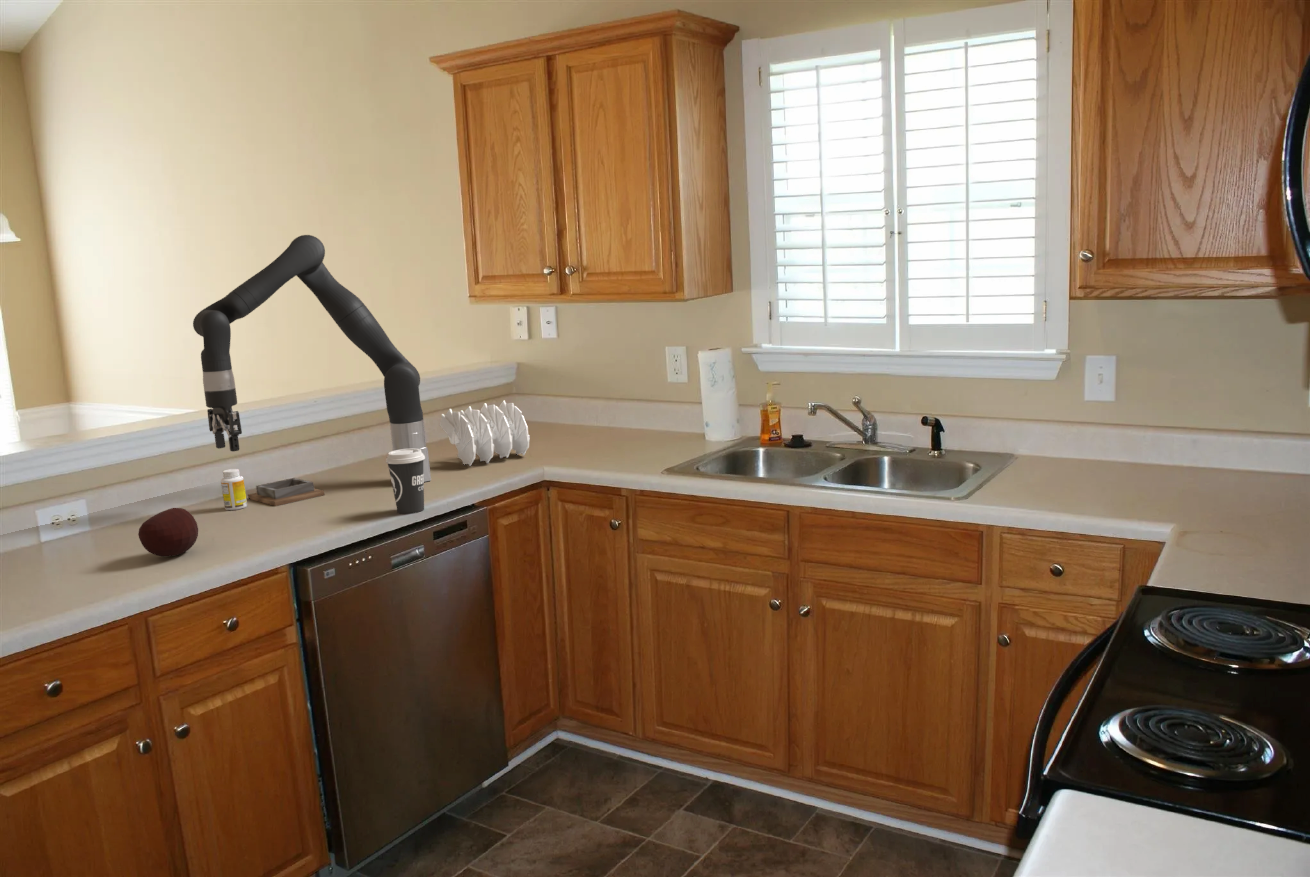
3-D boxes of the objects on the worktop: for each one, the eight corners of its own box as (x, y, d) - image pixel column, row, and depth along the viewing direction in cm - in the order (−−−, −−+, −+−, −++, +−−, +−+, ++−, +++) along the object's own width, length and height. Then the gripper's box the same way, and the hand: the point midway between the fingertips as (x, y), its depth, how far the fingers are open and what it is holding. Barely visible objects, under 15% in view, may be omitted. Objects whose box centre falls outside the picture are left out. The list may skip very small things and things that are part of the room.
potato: (130, 563, 226) (123, 517, 224) (177, 546, 238) (170, 502, 236) (169, 566, 222) (162, 519, 220) (215, 548, 234) (208, 503, 232)
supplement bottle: (250, 504, 276) (245, 467, 274) (244, 509, 271) (238, 471, 269) (228, 506, 276) (223, 468, 274) (222, 511, 270) (216, 473, 268)
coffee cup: (410, 517, 252) (404, 456, 249) (383, 513, 257) (376, 454, 254) (438, 507, 259) (432, 448, 257) (410, 504, 265) (404, 447, 262)
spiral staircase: (533, 468, 320) (461, 479, 305) (506, 438, 332) (434, 447, 316) (545, 417, 312) (471, 426, 297) (516, 389, 323) (444, 395, 308)
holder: (324, 494, 282) (322, 482, 282) (275, 506, 272) (273, 492, 272) (296, 488, 293) (294, 475, 293) (248, 498, 284) (246, 485, 283)
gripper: (246, 387, 265) (253, 449, 268) (222, 384, 275) (230, 444, 278) (216, 391, 260) (225, 454, 263) (193, 388, 270) (202, 449, 273)
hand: (227, 449), depth 270 cm, fingers open, 8 cm apart
